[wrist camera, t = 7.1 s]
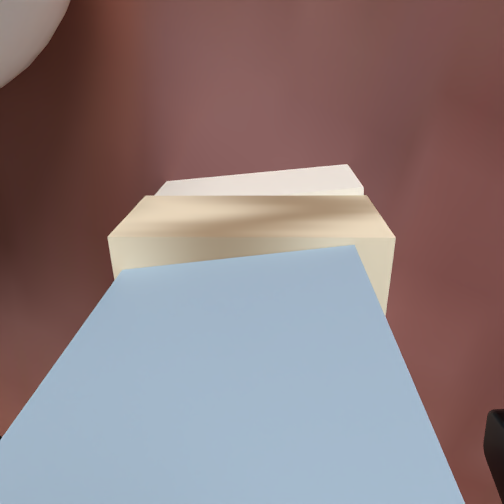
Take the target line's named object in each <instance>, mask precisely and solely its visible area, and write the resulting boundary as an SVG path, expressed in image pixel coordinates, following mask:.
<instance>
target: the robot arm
mask: <svg viewBox="0 0 504 504" xmlns="http://www.w3.org/2000/svg"><path fill="white" fill-rule="evenodd" d="M1 438H2V437H1V436H0V440H1ZM483 447H484V454H485V457H486V460H487V463H488V466H489V469H490V471H491V474H492V477H493V479H494V482H495V485H496V487H497V490H498V493H499V496H500V498H501V501H502V504H504V409H495V410H491V411H490V412H489V413H488V416H487V422H486V429H485V436H484V444H483Z"/></svg>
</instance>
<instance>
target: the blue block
mask: <svg viewBox="0 0 504 504" xmlns="http://www.w3.org/2000/svg"><path fill="white" fill-rule="evenodd" d="M0 504H465V502H464V500H463V498H462V495H461V493H460V491H459V488H458V486H457V483H456V481H455V479H454V476H453V474H452V472H451V469H450V467H449V465H448V462H447V460H446V458H445V455H444V453H443V451H442V448H441V446H440V444H439V441H438V439H437V437H436V434H435V432H434V430H433V427H432V425H431V423H430V420H429V418H428V416H427V413H426V411H425V409H424V406H423V404H422V402H421V399H420V397H419V394H418V392H417V390H416V387H415V385H414V383H413V380H412V378H411V376H410V373H409V371H408V369H407V366H406V364H405V362H404V359H403V357H402V355H401V352H400V350H399V348H398V345H397V343H396V341H395V338H394V336H393V334H392V331H391V329H390V327H389V324H388V322H387V320H386V317H385V315H384V313H383V310H382V308H381V305H380V303H379V301H378V298H377V296H376V294H375V291H374V289H373V287H372V284H371V282H370V280H369V277H368V275H367V273H366V270H365V268H364V266H363V263H362V261H361V259H360V256H359V254H358V252H357V249H356V247H355V245H346V246H337V247H328V248H319V249H310V250H300V251H291V252H282V253H273V254H263V255H254V256H245V257H236V258H226V259H217V260H208V261H199V262H189V263H180V264H171V265H162V266H153V267H143V268H134V269H125V270H122V271H121V272H120V274H119V275H118V276H117V278H116V279H115V281H114V282H113V283H112V285H111V286H110V288H109V289H108V290H107V292H106V293H105V295H104V296H103V297H102V299H101V300H100V302H99V303H98V304H97V306H96V307H95V309H94V310H93V311H92V313H91V314H90V316H89V317H88V318H87V320H86V321H85V322H84V324H83V325H82V327H81V328H80V329H79V331H78V332H77V334H76V335H75V336H74V338H73V339H72V341H71V342H70V343H69V345H68V346H67V348H66V349H65V350H64V352H63V353H62V355H61V356H60V357H59V359H58V360H57V362H56V363H55V364H54V366H53V367H52V369H51V370H50V371H49V373H48V374H47V376H46V377H45V378H44V380H43V381H42V383H41V384H40V385H39V387H38V388H37V390H36V391H35V392H34V394H33V395H32V397H31V398H30V399H29V401H28V402H27V404H26V405H25V406H24V408H23V409H22V410H21V412H20V413H19V415H18V416H17V417H16V419H15V420H14V422H13V423H12V424H11V426H10V427H9V429H8V430H7V431H6V433H5V434H4V436H3V437H2V438H1V440H0Z"/></svg>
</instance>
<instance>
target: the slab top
mask: <svg viewBox="0 0 504 504" xmlns="http://www.w3.org/2000/svg"><path fill="white" fill-rule="evenodd" d="M395 239H396V238H395V236H394V235H393V233H392V232H391V230H390V229H389V227H388V226H387V224H386V223H385V221H384V220H383V219H382V217H381V216H380V214H379V213H378V211H377V210H376V208H375V207H374V205H373V204H372V203H371V201H370V200H369V198H368V197H367V195H304V196H145V197H144V198H143V199H142V200H141V201H140V202H139V203H138V204H137V205H136V207H135V208H134V209H133V210H132V211H131V212H130V213H129V214H128V215H127V216H126V217H125V218H124V220H123V221H122V222H121V223H120V224H119V225H118V226H117V227H116V228H115V229H114V230H113V231H112V232H111V234H110V235H109V236H108V243H109V249H110V255H111V262H112V268H113V274H114V280H115V279H116V278H117V276H118V275H119V274H120V272H121V271H122V270H125V269H134V268H143V267H153V266H162V265H171V264H180V263H189V262H199V261H208V260H217V259H226V258H236V257H245V256H254V255H263V254H273V253H282V252H291V251H300V250H310V249H319V248H328V247H337V246H346V245H355V247H356V249H357V252H358V254H359V256H360V259H361V261H362V263H363V266H364V268H365V270H366V273H367V275H368V277H369V280H370V282H371V284H372V287H373V289H374V291H375V294H376V296H377V298H378V301H379V303H380V305H381V308H382V310H383V313H384V315H386V308H387V300H388V293H389V285H390V277H391V270H392V262H393V254H394V247H395Z"/></svg>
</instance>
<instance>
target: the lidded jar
mask: <svg viewBox="0 0 504 504" xmlns="http://www.w3.org/2000/svg"><path fill="white" fill-rule="evenodd" d="M69 3H70V0H0V88H2V87H3V86H5V85H6V84H7V83H9V82H10V81H11V80H12V79H14V78H15V77H16V76H17V75H19V74H20V73H21V72H22V71H24V70H25V69H26V68H27V67H29V65H30V64H31V63H32V62H33V61H34V60H35V58H36V57H37V56H38V55H39V54H40V53H41V51H42V50H43V49H44V48H45V47H46V46H47V44H48V43H49V41H50V39H51V38H52V36H53V34H54V32H55V31H56V29H57V27H58V25H59V24H60V22H61V20H62V18H63V17H64V15H65V13H66V11H67V8H68V6H69Z"/></svg>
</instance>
